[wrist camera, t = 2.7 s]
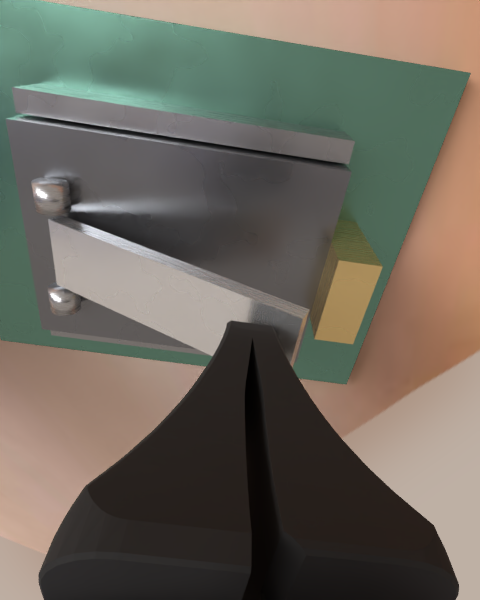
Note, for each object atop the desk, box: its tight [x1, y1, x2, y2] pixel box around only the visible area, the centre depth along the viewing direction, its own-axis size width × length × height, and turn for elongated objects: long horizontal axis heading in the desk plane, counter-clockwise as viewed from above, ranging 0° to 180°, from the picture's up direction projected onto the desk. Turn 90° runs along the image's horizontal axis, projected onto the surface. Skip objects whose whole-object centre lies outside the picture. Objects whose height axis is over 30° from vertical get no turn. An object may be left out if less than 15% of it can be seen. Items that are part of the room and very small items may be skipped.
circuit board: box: [0, 0, 471, 384], centre depth 17 cm, size 20×16×5 cm
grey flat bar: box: [48, 215, 309, 368], centre depth 14 cm, size 10×3×1 cm, turn 82°
